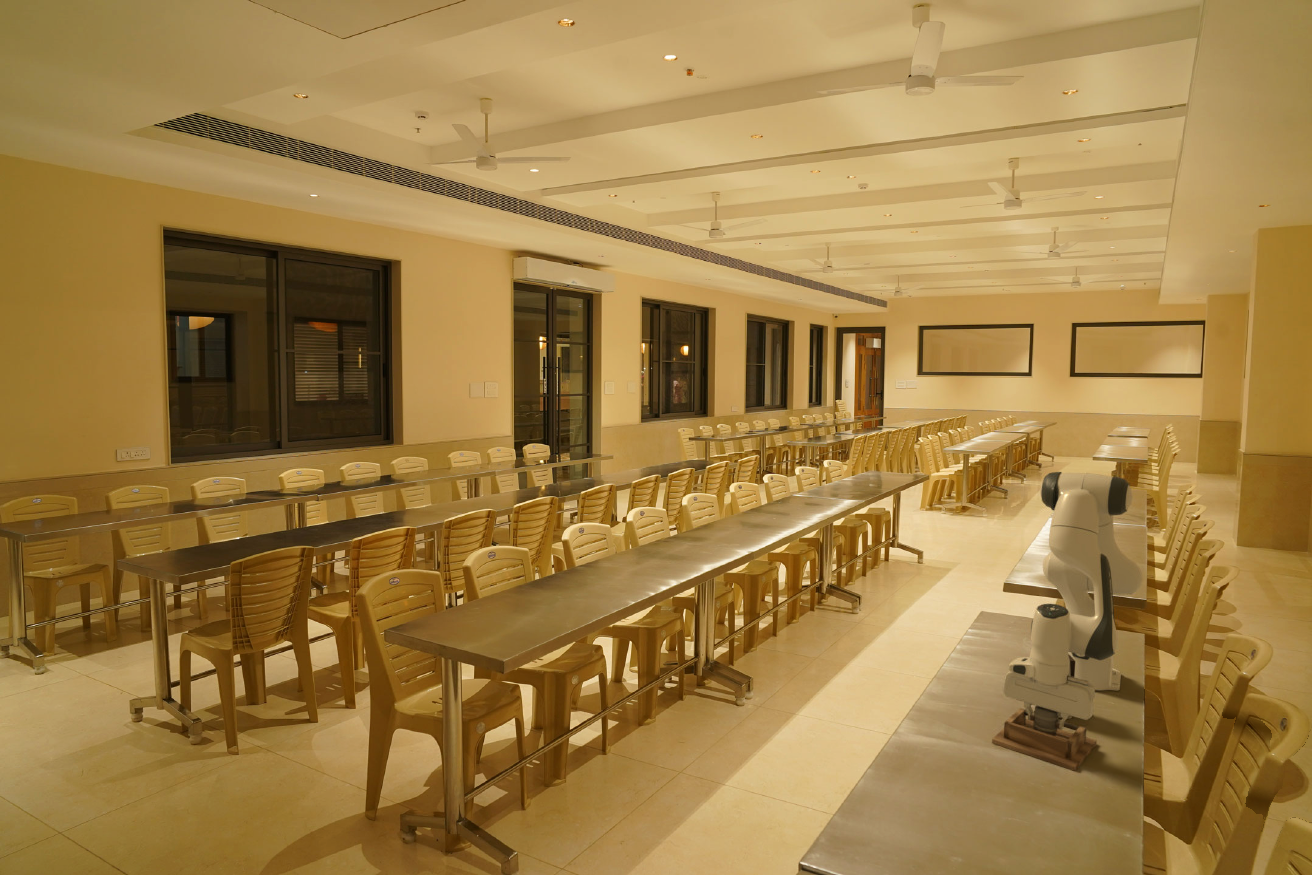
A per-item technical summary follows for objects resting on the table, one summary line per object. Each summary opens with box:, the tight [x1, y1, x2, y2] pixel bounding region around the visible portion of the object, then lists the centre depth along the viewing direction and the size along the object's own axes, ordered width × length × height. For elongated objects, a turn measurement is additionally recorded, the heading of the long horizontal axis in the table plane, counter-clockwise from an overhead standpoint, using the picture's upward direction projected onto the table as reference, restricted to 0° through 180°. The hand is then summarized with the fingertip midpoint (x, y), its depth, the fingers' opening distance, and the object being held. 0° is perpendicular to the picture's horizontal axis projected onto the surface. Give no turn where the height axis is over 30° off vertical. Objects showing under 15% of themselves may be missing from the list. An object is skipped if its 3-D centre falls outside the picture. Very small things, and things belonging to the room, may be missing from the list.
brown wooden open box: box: [991, 708, 1097, 772], centre depth 192 cm, size 18×19×5 cm
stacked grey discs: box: [1033, 705, 1059, 736], centre depth 192 cm, size 5×5×6 cm
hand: (1045, 723), depth 192 cm, fingers closed on stacked grey discs, 5 cm apart
